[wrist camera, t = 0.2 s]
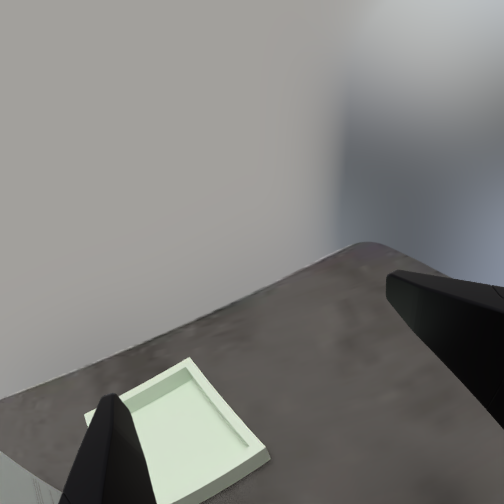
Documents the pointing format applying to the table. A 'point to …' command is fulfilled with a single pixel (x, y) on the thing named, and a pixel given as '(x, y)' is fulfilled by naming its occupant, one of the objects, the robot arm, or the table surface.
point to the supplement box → (23, 485)
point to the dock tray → (190, 436)
